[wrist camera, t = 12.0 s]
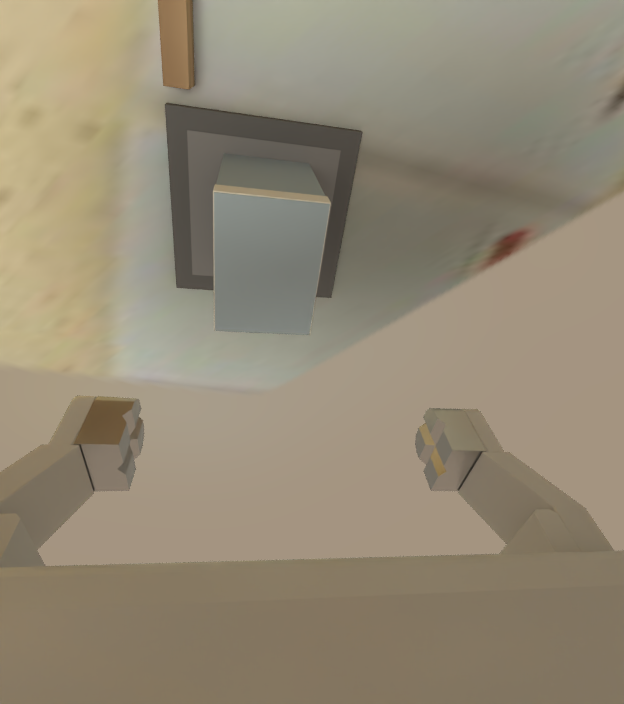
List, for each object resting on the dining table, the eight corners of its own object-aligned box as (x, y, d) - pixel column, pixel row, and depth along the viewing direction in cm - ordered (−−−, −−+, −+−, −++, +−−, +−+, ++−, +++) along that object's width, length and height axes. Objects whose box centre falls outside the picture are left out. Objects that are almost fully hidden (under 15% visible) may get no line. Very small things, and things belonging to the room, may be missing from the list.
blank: (310, 162, 24) (331, 203, 18) (296, 271, 28) (309, 336, 22) (223, 152, 23) (212, 191, 17) (222, 266, 27) (213, 331, 21)
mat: (360, 130, 24) (362, 132, 24) (329, 293, 31) (331, 298, 30) (166, 103, 22) (164, 104, 22) (177, 283, 29) (176, 288, 28)
